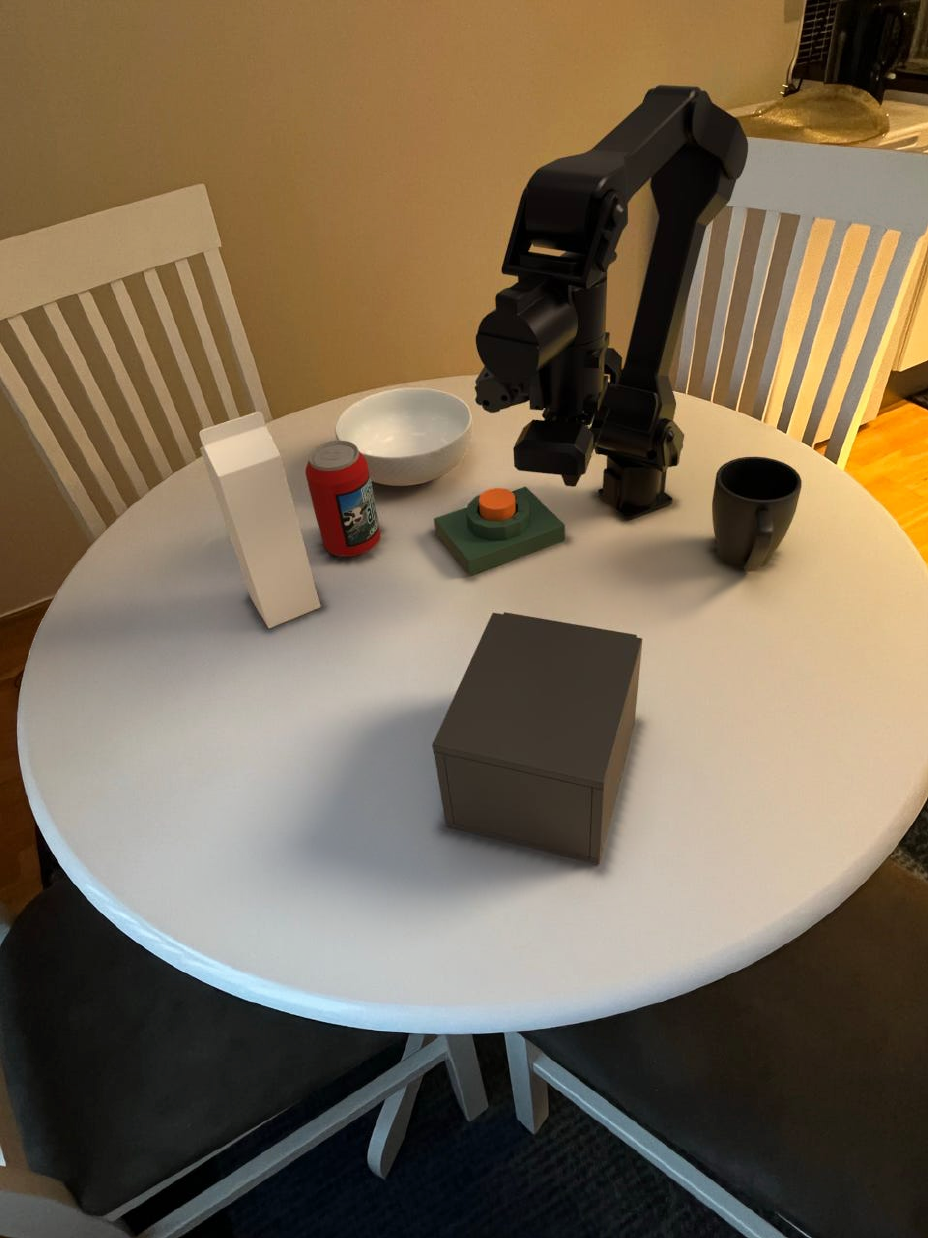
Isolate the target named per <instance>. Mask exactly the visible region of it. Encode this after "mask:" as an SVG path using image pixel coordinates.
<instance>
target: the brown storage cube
mask: <svg viewBox="0 0 928 1238" xmlns="http://www.w3.org/2000/svg"><path fill="white" fill-rule="evenodd" d="M642 649H643V638H642V637H638V636H637V637H632V636H626V635H620V634H615V633H609V632H603V631H597V630H591V629H586V628H580V627H574V626H568V625H562V624H557V623H551V622H545V621H539V620H533V619H527V618H522V617H516V616H510V615H504V613H498V612H492V613H491V616H490V618H489V620H488V622H487V623H486V626H485V629H484V630H483V633H482V635H481V637H480V639H479V642H478V644H477V646H476V648H475V650H474V652H473V655H472V657H471V659H470V661H469V664H468V665H467V668H466V670H465V672H464V674H463V677H462V679H461V681H460V683H459V685H458V687H457V690H456V692H455V694H454V695H453V698H452V699H451V702H450V705H449V707H448V709H447V711H446V713H445V716H444V718H443V720H442V721H441V724H440V727H439V728H438V731H437V733H436V736H435V738H434V740H433V742H432V751H433V757H434V763H435V764H434V765H435V769H436V776H437V781H438V787H439V794H440V800H441V804H442V810H443V817H444V822H445V826H446V827H448V828H452V829H457V830H459V831H463V832H467V833H472V834H476V835H480V836H482V837H483V836H484V837H488V838H492V839H495V840H500V841H503V842H507V843H510V844H511V843H512V844H515V845H519V846H523V847H527V848H531V849H534V850H538V851H543V852H546V853H550V854H554V855H557V856H562V857H566V858H569V859H573V860H577V861H582V862H585V863H589V864H594V865H597V866H599V865H600V864H601V860H602V856H603V853H604V849H605V844H606V841H607V836H608V832H609V828H610V825H611V822H612V821H611V820H612V816H613V812H614V808H615V804H616V800H617V797H618V792H619V788H620V785H621V784H620V783H621V780H622V777H623V773H624V769H625V764H626V760H627V757H628V752H629V748H630V744H631V740H632V736H633V733H634V732H633V731H634V729H635V723H636V713H637V704H638V691H639V680H640V669H641V659H642V658H641V657H642Z"/></svg>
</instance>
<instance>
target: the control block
mask: <svg viewBox="0 0 928 1238" xmlns="http://www.w3.org/2000/svg"><path fill="white" fill-rule="evenodd" d="M510 491H511V492H512V493H513V494H514V495H515V505H516V512H515V514H514V516H513V517H511V518H508V519H505V520H503V521H490V520H487V519H484V518H483V517H482V516H481V515H480V508H479V497H480V495H481V494H478V495H476V496H475V497H474V498H473V499H472V500H471V501H469V502H468V503H467V505H466V507H462V508H460V509H457V510H455V511H451V512H448V513H446V514H443V515H440V516H438V517H435V518H433V522H434V530H435V535H436V536H437V537H438V538H439V540H440V541H441V542H442V543H443V545H444V546H445V547H446V549H447V550H448V551H449V552H450V553H451V554H452V556H453V557H454V558H455V560H456V561H457V562H458V563H459V565H460V566H461V567H462V568H463V570H464V571H465V572H466V574H467V575H468V576H469V577H472V576H475V575H477V574H480V573H482V572H485V571H488V570H490V569H493V568H496V567H499V566H501V565H504V564H506V563H509V562H512V561H514V560H517V559H520V558H522V557H525V556H528V555H530V554H533V553H535V552H538V551H540V550H543V549H546V548H548V547H551V546H554V545H556V544H559V543H561V542H564V541H566V524H565V523H564V522H563V521H562V520H560V518H559V517H558V516H557V515H555V514H554V513H553V511H551V509H549V508H548V507H547V505H545V504H544V502H542V501H541V500H540V499H539V497H537V496H536V495H535V494H534V493H533V492H532V491H531V490H530V489H529V488H528V487H527V486H522V487H520V488H517V489H514V490H510Z"/></svg>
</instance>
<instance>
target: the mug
mask: <svg viewBox="0 0 928 1238" xmlns="http://www.w3.org/2000/svg"><path fill="white" fill-rule="evenodd" d="M802 484H803V482H802V478H801V476H800V474H799V472H798V471H797V470H796V469H795V468H794V467H792V466H791V465H789V464H787V463H785V462H784V461H780V460H777V459H774V458H770V457H764V456H744V457H743V456H742V457H737V458H734V459H731V460H729V461H727V462H725V463H724V464H722V465H721V466H720V467H719V468H718V470H717V472H716V474H715V481H714V486H713V487H714V488H713V493H712V502H711V514H712V526H713V533H714V538H715V543H716V546H717V547H716V548H717V554H718V556H719V558H720V559H721V560H722V561H723V562H724V563H726V564H727V565H730V566H732V567H734V568H738V569H743V570H744V571H745V572H749V573H753V572H756V571H758V570H759V569H760V568H761V567H764V566H765V565H767V564H768V563H769V562H770V561H771V560H772V557H773V556H774V554H775V553H776V551H777V549H778V548H779V546H780V545H781V543H782V542H783V540H784V538H785V536H786V534H787V533H788V531H789V528H790V526H791V524H792V521H793V519H794V517H795V514H796V512H797V509H798V508H797V507H798V503H799V500H800V495H801V490H802Z"/></svg>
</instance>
